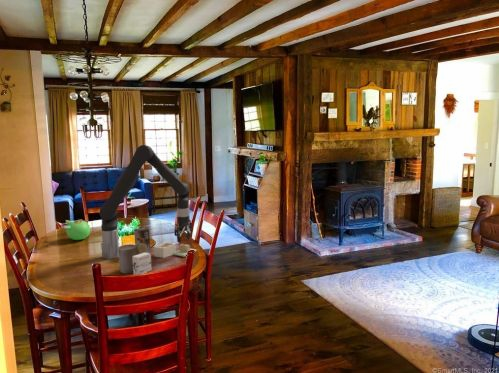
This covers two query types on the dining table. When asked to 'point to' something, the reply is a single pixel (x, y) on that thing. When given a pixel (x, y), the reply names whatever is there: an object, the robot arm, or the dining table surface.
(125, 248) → the pillar candle
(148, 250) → the coffee box
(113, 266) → the dining table surface
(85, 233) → the green round pot
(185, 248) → the lid
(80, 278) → the dining table surface
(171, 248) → the cream box
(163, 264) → the dining table surface
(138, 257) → the ink box
